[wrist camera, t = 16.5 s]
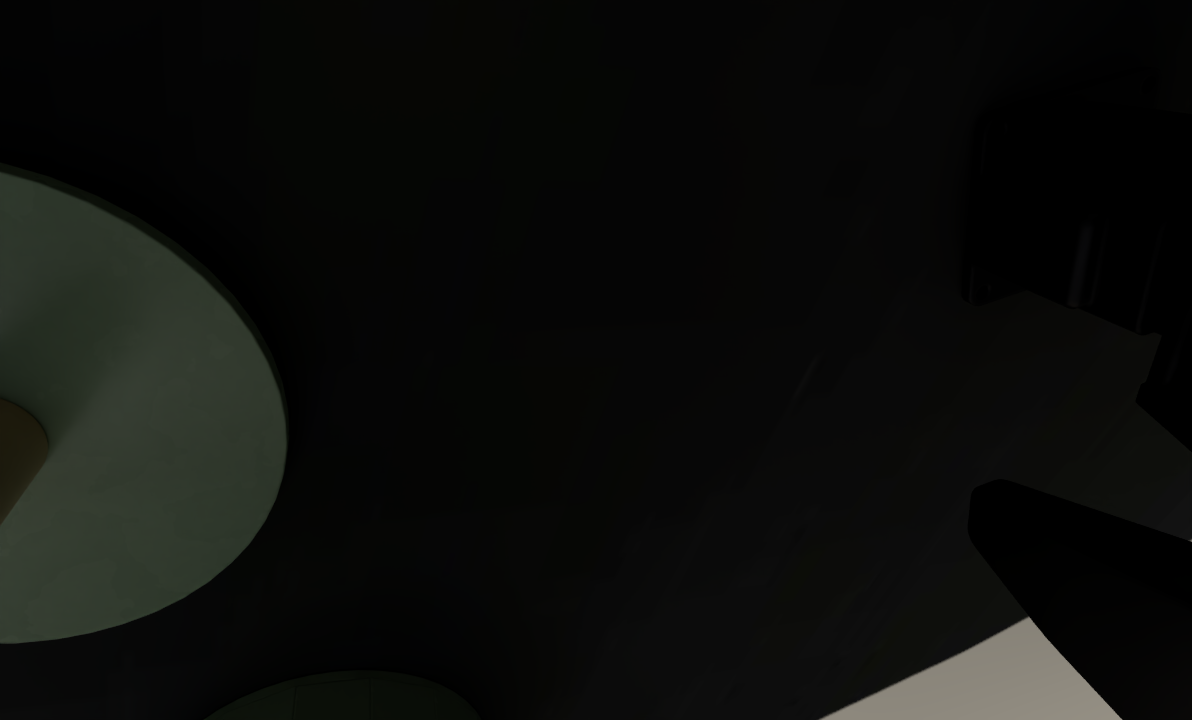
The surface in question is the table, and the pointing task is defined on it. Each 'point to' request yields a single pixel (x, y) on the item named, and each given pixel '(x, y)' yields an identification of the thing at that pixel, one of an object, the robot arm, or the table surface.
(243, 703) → the tin
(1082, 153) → the robot arm
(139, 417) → the lid
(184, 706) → the table surface
